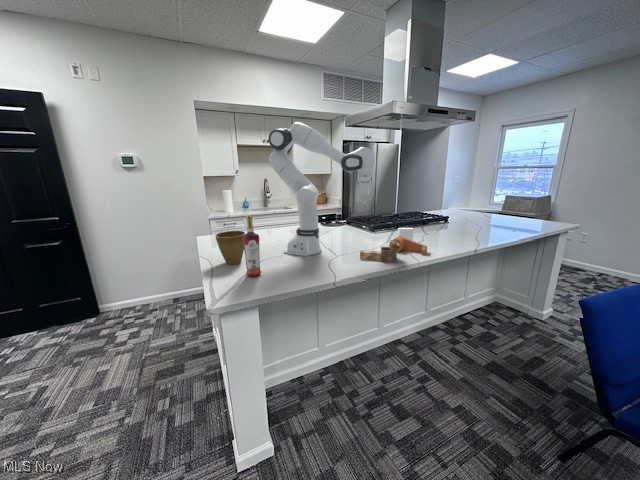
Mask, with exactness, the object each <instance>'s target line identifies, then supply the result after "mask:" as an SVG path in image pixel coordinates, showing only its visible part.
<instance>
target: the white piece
mask: <svg viewBox="0 0 640 480" xmlns="http://www.w3.org/2000/svg"><path fill="white" fill-rule="evenodd" d="M398 236H401V237H404V238H406V239H409V240H412V241H414V240H413V238H414V228H413V227H398V228H397V237H398ZM397 245H398V246H399V244H398V243H397Z"/></svg>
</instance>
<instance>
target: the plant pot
mask: <svg viewBox="0 0 640 480" xmlns="http://www.w3.org/2000/svg"><path fill="white" fill-rule="evenodd" d="M245 234H246V232H245V231H243V230H230V231H229V230H228V231H222V232H219V233H216V234H215V241H216V242H217V245H218V249H219V251H220V254H221V256H222V258H223V260H224V262H225V263H226V264H227V265H229V266H232V265H233V266H234V265H238V264H241V263H242V260H243V257H244V253H245V252H244V245H243V238H242V237H243V236H244V235H245Z"/></svg>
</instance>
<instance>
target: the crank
mask: <svg viewBox="0 0 640 480" xmlns="http://www.w3.org/2000/svg"><path fill="white" fill-rule="evenodd" d="M392 240H397V243H398V244H399V246H398V245H397V253H399V252H401V251H405V252H413V253H420V254H421V255H422V256H423V255H424V256H425V255H426V254H427V251H428V245H426V244H422V243H419V242H417V241H415V240H409V239H406V238H404V237H401V236H398V235H397V236H395V237H394V238H393V239H392ZM388 247H391V241H390V242H389V244H388Z"/></svg>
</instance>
